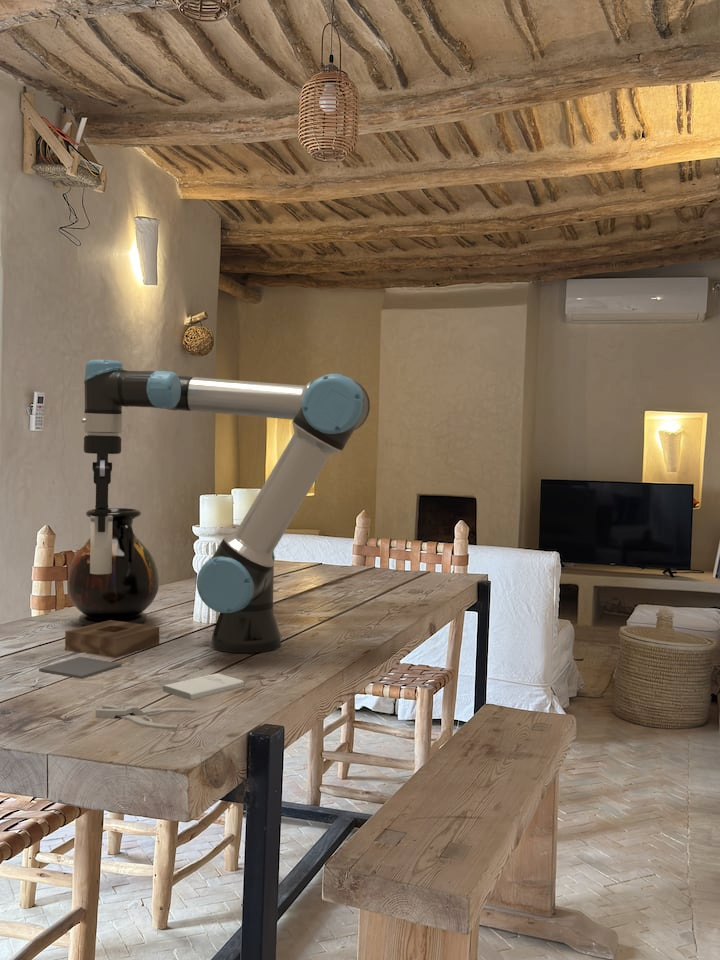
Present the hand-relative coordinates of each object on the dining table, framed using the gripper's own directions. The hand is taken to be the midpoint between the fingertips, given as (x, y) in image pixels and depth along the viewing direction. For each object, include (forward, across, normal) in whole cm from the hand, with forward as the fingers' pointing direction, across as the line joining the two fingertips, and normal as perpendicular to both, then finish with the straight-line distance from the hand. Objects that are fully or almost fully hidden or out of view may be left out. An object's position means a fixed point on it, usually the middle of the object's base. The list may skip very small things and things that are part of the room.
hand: (101, 545), depth 190 cm
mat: (+23, +12, -4) cm, 26 cm away
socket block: (+23, -6, +3) cm, 24 cm away
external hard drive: (+23, +31, +19) cm, 43 cm away
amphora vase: (+23, -30, +3) cm, 38 cm away
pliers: (+23, +46, +7) cm, 52 cm away
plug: (+6, 0, 0) cm, 6 cm away
